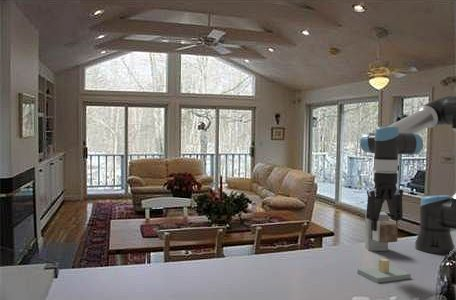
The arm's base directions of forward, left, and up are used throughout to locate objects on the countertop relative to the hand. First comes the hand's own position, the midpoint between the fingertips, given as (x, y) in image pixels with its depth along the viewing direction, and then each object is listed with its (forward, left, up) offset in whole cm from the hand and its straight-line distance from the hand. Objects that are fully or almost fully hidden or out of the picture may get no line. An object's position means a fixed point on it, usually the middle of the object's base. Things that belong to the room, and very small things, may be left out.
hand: (384, 239), depth 143 cm
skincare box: (-21, -29, -13) cm, 38 cm away
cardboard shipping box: (0, 0, 0) cm, 0 cm away
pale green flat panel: (0, 0, -12) cm, 12 cm away
